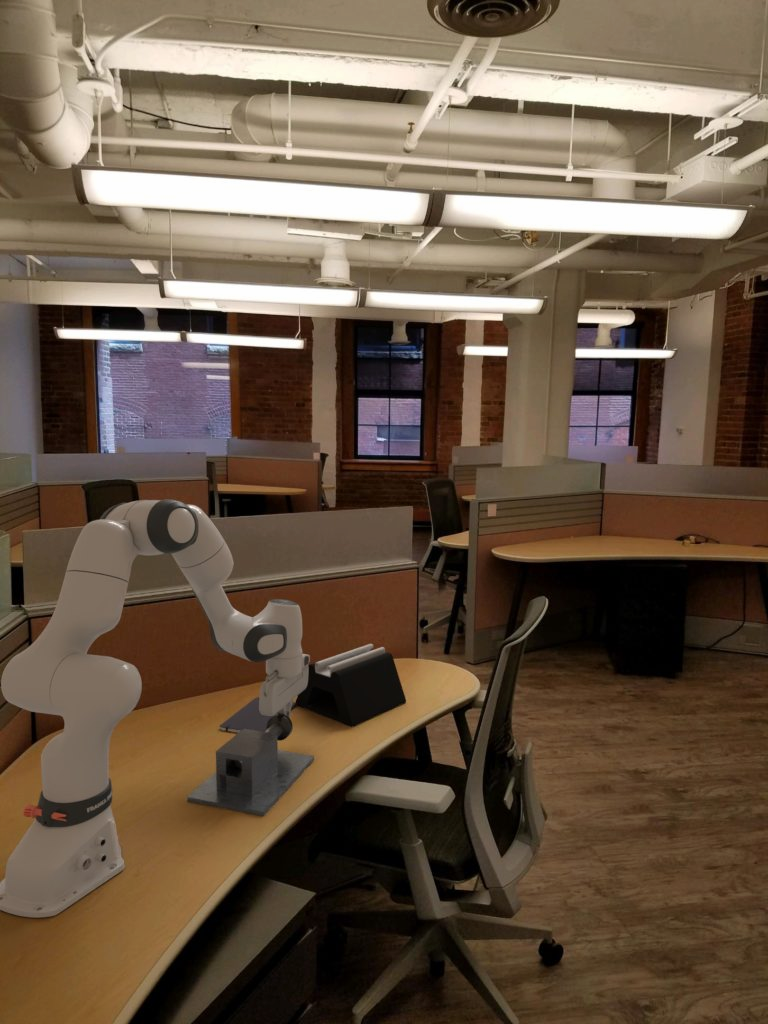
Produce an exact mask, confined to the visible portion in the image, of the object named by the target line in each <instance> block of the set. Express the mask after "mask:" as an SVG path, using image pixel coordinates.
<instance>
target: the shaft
mask: <svg viewBox="0 0 768 1024" xmlns="http://www.w3.org/2000/svg"><path fill="white" fill-rule="evenodd" d="M293 727H294V726H293V721H292V720H291V719H290V717H288V716H286V715H285V714H281V713H278V714H275V715H274V716H273V717H272V718H270V719H269V720H268V722H267V730H266V731H265V732H268V733H274V734H277V742H278V741H284V740H286V739H288V737H289V736H290V735H291V734H292V732H293ZM235 765H236V766H237V767H238V768H240V769H242V761H238V760H235Z"/></svg>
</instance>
